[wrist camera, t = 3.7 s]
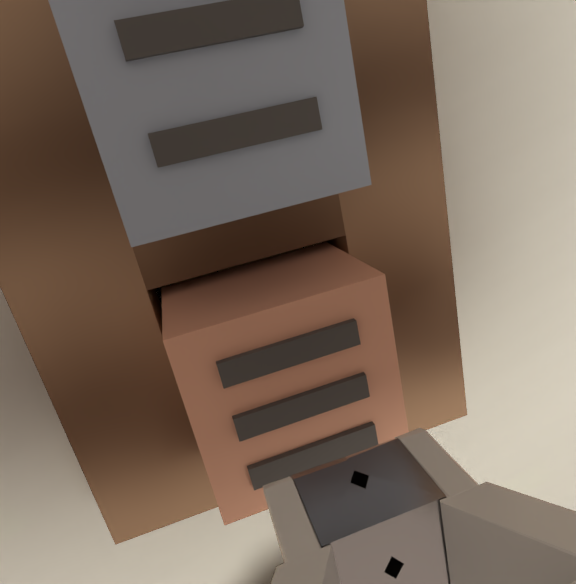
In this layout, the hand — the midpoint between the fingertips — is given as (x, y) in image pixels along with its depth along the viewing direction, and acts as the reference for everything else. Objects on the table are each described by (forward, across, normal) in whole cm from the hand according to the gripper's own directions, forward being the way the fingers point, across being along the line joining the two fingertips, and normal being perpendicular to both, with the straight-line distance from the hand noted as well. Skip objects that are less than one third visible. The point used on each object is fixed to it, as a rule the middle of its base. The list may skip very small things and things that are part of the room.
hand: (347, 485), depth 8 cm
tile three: (+7, 0, 0) cm, 7 cm away
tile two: (+7, 0, -7) cm, 10 cm away
